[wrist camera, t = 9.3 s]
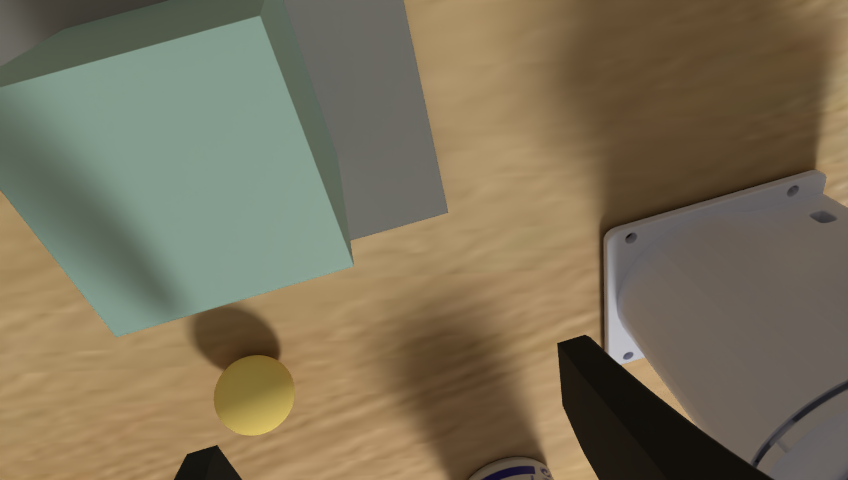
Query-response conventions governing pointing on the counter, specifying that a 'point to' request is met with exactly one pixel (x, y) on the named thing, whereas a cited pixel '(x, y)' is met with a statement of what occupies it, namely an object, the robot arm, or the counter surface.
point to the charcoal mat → (320, 95)
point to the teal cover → (174, 159)
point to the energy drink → (513, 470)
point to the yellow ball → (254, 395)
